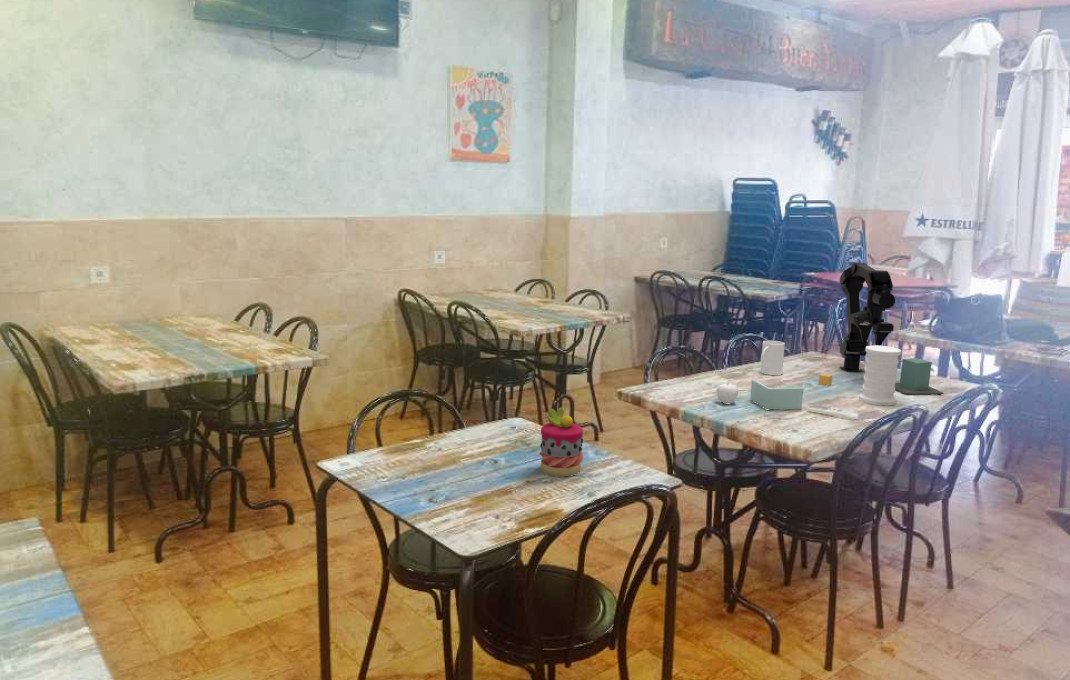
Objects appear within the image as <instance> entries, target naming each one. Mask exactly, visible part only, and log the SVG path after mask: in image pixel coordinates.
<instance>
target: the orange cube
mask: <svg viewBox="0 0 1070 680" xmlns="http://www.w3.org/2000/svg"><path fill="white" fill-rule="evenodd" d="M832 382H833V374H828V373H821V374H819V376H818V385H820V386H821V385H822V386H825V385H827V386H826V387H829V386H831V385H832Z"/></svg>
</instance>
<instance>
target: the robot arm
mask: <svg viewBox="0 0 1070 680" xmlns="http://www.w3.org/2000/svg"><path fill="white" fill-rule="evenodd" d="M839 284H840V288H841V291H842V292H843V293H844V295H845V296H846V298H845V299H846V315H847V330H848V331H847V333H846V334H845V336H844V337H843V338H844V339H843V342H842V344H841V345H840V347H839V353H840V354H841V355H842V356H844V359H843V366H839V368H840V369H841V370H843V371H845V372H863V369H861V368H860V365H861V364H860V363H861V357H862V356H863V357H867V352H866V351H865V350H866V346H869V342H868V339H869V338H870V337H869V336H870V334H871V332H872V333H873V334H874V345H877V346H882V344H883V342H884V341H885V339H887V337H888V336H889V334H891V333H892V332H894V328H895V325H894V324H893V323H892V322H891V323H890V322H888V321H885V319H884V318H883V312H886V310H887V309H888V310H889V309H891V308H892V307H894V305H895V304H896V298H895V296H894V294H892V291H893V287H894V285H893V281H892V278H891V274H890V273H889V271H888V270H879V269H878V270H877V269H875V268H873V267H872V266H869V265H868V264H867V263H865V262H862V263H859V262H854V263H852V265H850V267H848V268H846V269H845V270H843V272H842V273H841V275H840V277H839ZM864 284H866V285H867V288H866V291H867V298H866V306H864V305H863V307H862V310H861V301H860V293H861V291H862V289H863V288H864Z"/></svg>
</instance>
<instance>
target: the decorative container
mask: <svg viewBox="0 0 1070 680" xmlns="http://www.w3.org/2000/svg"><path fill="white" fill-rule="evenodd" d="M865 351H866V352H867V353H866V356H865V362H866V363H865V366H864V375H863V384H862V393H859V396H858V399H859V401H861V402H862V403H866V404H869V405H874V406H875V405H876V406H883V405H886V406H894V405H896V404H897V400H898V399H897V398H896V397H895V396H894V395H895V393H896V390H895V384H896V383H897V374H898V372H899V371H898V365H899V363H900V361H899V356H901V355H902V349H900V348H897V347H892V346H886V345H881V346H877V345H875V344H874V345H868V346H866V350H865Z"/></svg>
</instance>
